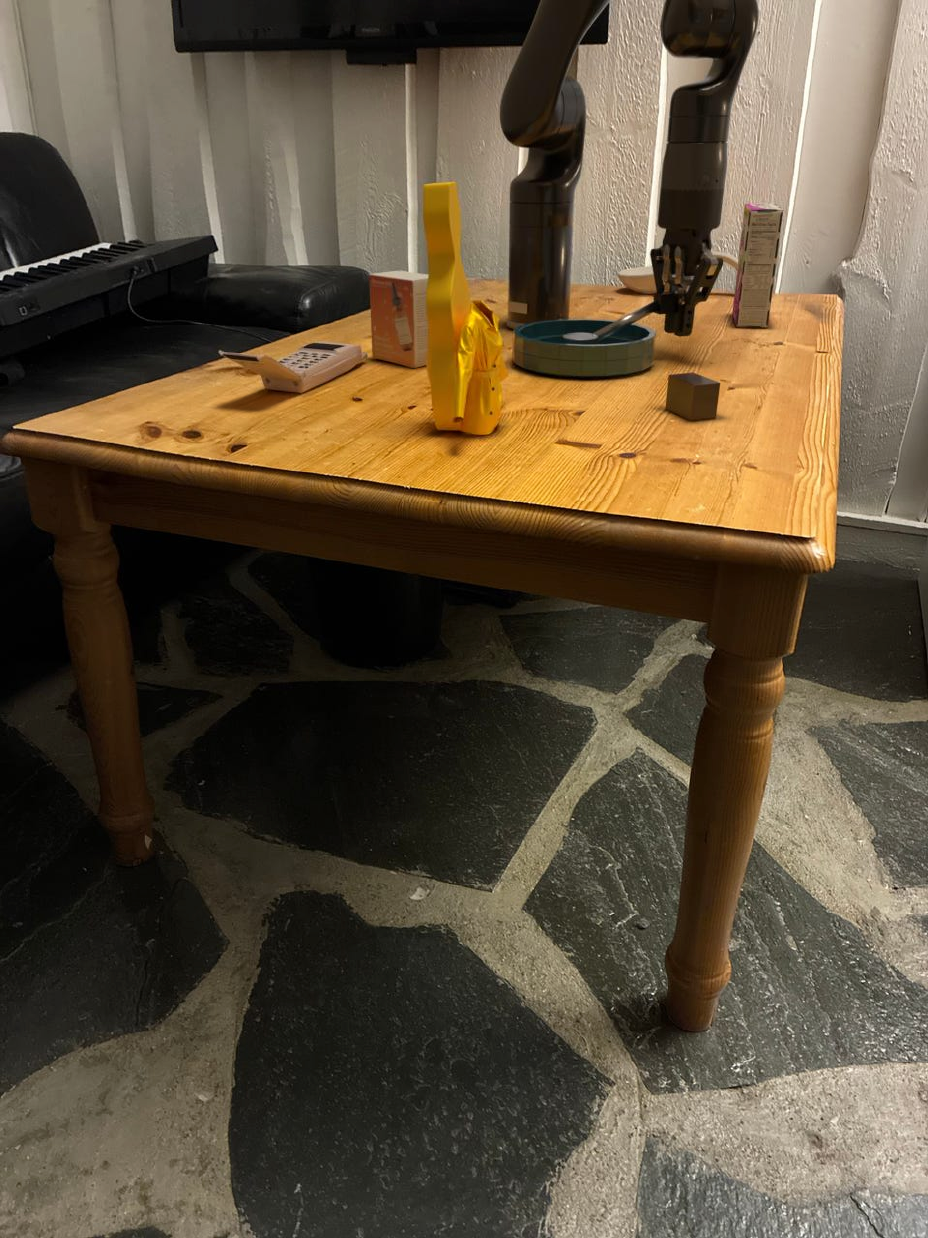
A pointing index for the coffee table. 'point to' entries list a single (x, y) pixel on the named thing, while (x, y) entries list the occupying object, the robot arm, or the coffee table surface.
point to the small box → (399, 317)
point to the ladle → (627, 319)
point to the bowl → (582, 349)
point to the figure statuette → (458, 326)
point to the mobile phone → (302, 365)
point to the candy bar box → (757, 264)
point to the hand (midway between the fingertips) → (677, 333)
